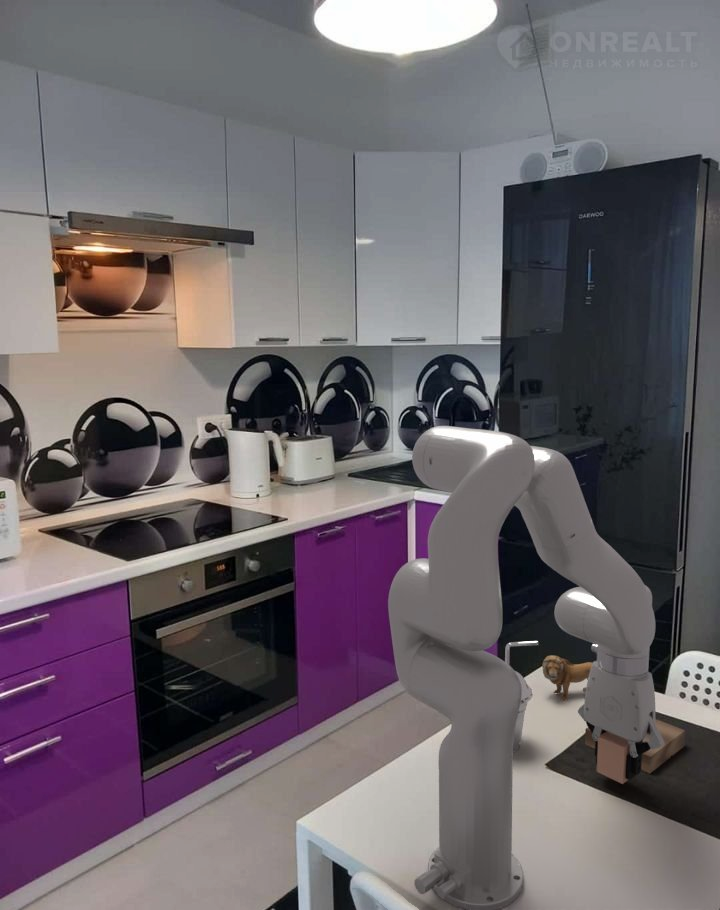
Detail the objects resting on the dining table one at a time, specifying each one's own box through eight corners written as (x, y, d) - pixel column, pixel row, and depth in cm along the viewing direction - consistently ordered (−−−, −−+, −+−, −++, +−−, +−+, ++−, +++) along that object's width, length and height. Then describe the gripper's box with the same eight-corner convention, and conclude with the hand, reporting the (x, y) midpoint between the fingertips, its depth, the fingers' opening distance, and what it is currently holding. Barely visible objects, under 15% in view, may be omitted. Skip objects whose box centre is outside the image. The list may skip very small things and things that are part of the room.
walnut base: (649, 773, 121) (650, 756, 121) (585, 744, 130) (585, 728, 130) (684, 746, 129) (685, 730, 129) (621, 720, 138) (621, 705, 138)
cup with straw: (500, 727, 137) (501, 624, 133) (543, 745, 130) (545, 637, 127) (472, 745, 131) (473, 638, 128) (516, 765, 124) (518, 653, 121)
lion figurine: (548, 706, 144) (549, 662, 143) (536, 693, 149) (537, 651, 148) (617, 697, 147) (618, 654, 146) (603, 685, 152) (604, 643, 151)
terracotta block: (622, 784, 115) (624, 747, 114) (596, 771, 118) (598, 736, 118) (637, 773, 118) (639, 738, 117) (611, 761, 121) (613, 727, 120)
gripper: (562, 650, 119) (558, 756, 122) (663, 686, 107) (656, 803, 109) (588, 638, 124) (583, 740, 127) (687, 671, 112) (680, 783, 114)
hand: (617, 768), depth 118 cm, fingers closed on terracotta block, 4 cm apart
